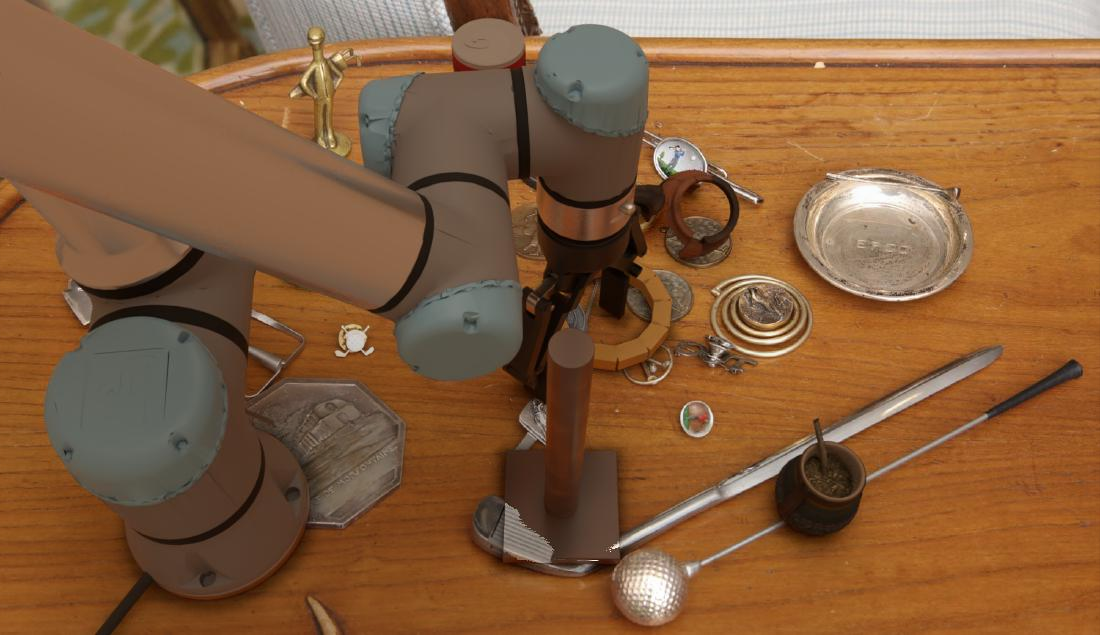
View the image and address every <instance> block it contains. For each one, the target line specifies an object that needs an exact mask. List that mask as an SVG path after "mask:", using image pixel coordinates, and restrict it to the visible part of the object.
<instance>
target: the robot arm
mask: <svg viewBox="0 0 1100 635" xmlns="http://www.w3.org/2000/svg"><path fill="white" fill-rule="evenodd" d="M649 87H650V62H649V60H648V58H647V55H646V53H645V52H644V50H643V48H642V47H641V45H639V43H638V42H637V41H636V40H635V39H633V38H632V37H631V36H630V35H629V34H627V33H626V32H624V31H621V30H619V29H617V28H615V27H612V26H608V25H604V24H597V23H582V24H575V25H572V26H570V27H569V28H568V29H567V30H565V31H563V32H556V33H554V34H552V35H551V36H550V37H549V38H548V39H547V40H546V41H545V42H544V43H543V45H542V46H541V48H540V50H539V53H538V56H537V60H536V63H535V64H534V65H532V64H531V65H526V66H521V67H520V68H513V69H495V70H478V71H461V72H454V71H445V72H429V73H427V72H425V71H416V72H414V73H413V74H405V75H396V76H390V77H385V78H376V79H372V80H370V81H368V82H367V83H365V84H364V85H363V87H362V88H361V90H360V92H359V95H358V101H357V106H358V107H357V117H358V118H357V119H358V126H359V131H358V132H359V142H360V151H361V158H362V162H363V165H361V164H359V163H358V162H356V161H353V160H351V159H349V158H347V157H345V156H343V155H341V154H339V153H337V152H335V151H333V150H331V149H329V148H327V147H324V146H322V145H320V144H319V143H317V142H314V141H312V140H311V139H308V138H306V137H304V136H302V135H300V134H298V133H297V132H294V131H292V130H290V129H288V128H286V127H285V126H284V127H283V126H282V125H280V124H278V123H275V122H274V121H272V120H269V119H268V118H265V117H263V116H262V115H259V114H257V113H255V112H253V111H251V110H249V109H247V108H245V107H244V106H243V107H242V106H240V105H239V104H237V103H235V102H232V101H230V100H228V99H226V98H224V97H223V96H220V95H218V94H216V93H214V92H212V91H210V90H208V89H206V88H204V87H202V86H200V85H198V84H197V83H196V84H195V83H194V82H192V81H189V80H188V79H186V78H183V77H182V76H179V75H177V74H176V73H173V72H171V71H169V70H167V69H165V68H163V67H161V66H159V65H157V64H155V63H153V62H151V61H149V60H146V59H144V58H143V57H141V56H139V55H137V54H134V53H133V52H131V51H128V50H126V49H124V48H122V47H120V46H118V45H116V44H114V43H112V42H110V41H108V40H106V39H103V38H102V37H100V36H97V35H96V34H93V33H91V32H90V31H87V30H85V29H83V28H81V27H79V26H77V25H76V24H73V23H71V22H69V21H67V20H64V19H62V18H61V17H58V16H57V15H56V13H55V12H54V11H53V9H52V7H50V5H49V3H48V2H47V1H46V0H0V178H2V179H5V180H7V181H8V183H10V185H11V186H13V188H15V190H16V191H17V192H18V193H19V194H20V195H21V196H22V197H23V198H24V199H25V200H26V201H27V202H28V203H29V204H30V205H31V206H32V208H34V210H36V212H38V214H39V215H40V216H41V217H42V218H43V219H44V220H45V221H46V222H47V224H48V225H50V226H51V227H52V228H53V229H54V231H55V232H56V233H55V241H54V252H55V256H56V259H57V261H58V265H59V266H60V267H61V269H62V271H63V272H64V273H65V274H66V275H67V276H68V277H69V278H70V279H71V280H72V281H73V282H75V284H76V286H78V287H79V288H80V289H81V290H82V291H83V292H84V293H85V294H86V295H87V296H88V297H89V299H90V302H91V306H92V307H91V314H90V318H89V326H88V331H87V333H86V334H85V335H83V336H82V337H81V338H79V340H78V342H79V344H80V345H79V346H77V348H75V349H74V350H73V351H70V350H68V351H66V352H65V353H63V354H64V355H63V356H61V358H60V359H59V360H58V363H57V364H56V365H55V368H54V369H53V372H51V373H52V374H51V376H50V377H49V381H48V383H47V386H46V390H45V394H44V400H43V421H44V427H45V431H46V435H47V438H48V440H49V443H50V444H51V447H52V448H53V450H54V452H55V453H56V455H57V456H58V457H59V459H60V460H61V461H62V463H63V465H64V467H65V469H66V471H68V473H69V474H70V475H71V476H72V477H73V479H74V480H75V481H76V482H77V483H78V484H79V485H80V486H81V487H82V488H83V489H85V490H86V491H88V492H90V494H92V495H94V496H95V497H96V498H97V499H99V501H101V502H102V503H103V504H104V505H105V506H106V507H107V508H109V509H110V510H111V511H112V512H113V513H115V515H117V516H118V517H119V518H120V519H121V520H123V521H124V527H125V528H124V530H125V536H126V541H127V545H128V548H129V550H130V553H131V554H132V557H133V558H134V560H135V562H136V564H137V565H138V566H139V568H140V569H141V571H142V572H143V574H142V575H141V576H140V577H139V578H138V580H137V581H136V582H135V584H133V586H132V587H131V588H130V590H129V591H128V592H127V593H126V595H125V596H124V597H123V598H122V600H121V601H120V602H119V603H118V605H117V606H116V607H115V608H114V610H113V611H112V612H111V614H110V615H109V616H108V617H107V619H105V621H104V622H103V624H101V626H100V627H99V629H98V630H97V631H96V633H95V634H94V635H112V634H113V632H114V631H115V630H116V629H117V627H118V626H119V625H120V623H122V621H123V619H125V617H126V616H127V614H128V613H129V612H130V610H132V609H133V607H134V606H135V604H136V603H137V602H138V601H139V600H140V598H141V597H142V595H143V594H144V593H145V592H146V591H147V590H148V588H149V587H150V586H151V585H152V583H153V582H154V583H155V584H156V585H157V586H159V587H160V588H162V589H163V590H165V591H167V592H168V593H171V594H173V595H176V596H179V597H181V598H186V599H188V600H189V599H191V600H196V601H197V600H198V601H211V600H219V599H220V600H222V599H226V598H230V597H235V596H237V595H240V594H243V593H244V592H248V591H249V590H252V589H254V588H255V587H258V586H259V585H260V584H262V583H264V582H265V581H266V580H268V579H269V578H270V577H272V576H273V575H274V574H276V572H278V571H279V570H280V569H281V568H282V567H283V566H284V565H285V563H286V562H287V561H288V560H289V559H290V557H291V556H292V555H293V553H294V552H295V551H296V549H297V547H298V546H299V544H300V543H301V540H302V538H303V536H304V533H305V530H306V528H307V525H308V521H309V516H310V511H311V510H310V508H311V493H310V487H309V483H308V479H307V476H306V474H305V472H304V470H303V468H302V466H301V464H300V462H299V461H298V459H297V458H296V456H295V455H294V454H293V452H291V450H290V449H289V448H288V447H287V446H286V445H285V444H283V443H282V441H280V440H279V439H278V438H276V437H275V436H273V435H271V434H270V433H268V432H266V431H263V430H261V429H259V428H256V427H254V426H252V424H251V422H250V420H249V419H248V417H247V416H249V417H252V418H254V419H256V420H258V421H261V422H264V423H265V424H268V425H270V426H273V427H275V428H277V425H276V423H275V421H274V420H272V419H270V418H268V417H266V416H264V415H261V414H259V413H256V412H255V411H253V410H250V409H247V408H246V391H247V377H248V362H249V361H248V360H249V350H250V339H251V338H250V337H251V324H252V313H253V312H252V311H253V310H252V309H253V301H254V300H253V299H254V288H255V277H256V274H257V272H260V273H262V274H265V275H268V276H271V277H273V278H276V279H279V280H281V281H285V282H287V283H289V284H292V285H296V286H298V287H300V288H304V289H306V290H308V291H311V292H314V293H317V294H320V295H323V296H325V297H328V298H331V299H333V300H335V301H339V302H341V303H344V304H347V305H350V306H353V307H355V308H358V309H360V310H363V311H366V312H369V313H370V314H373V315H375V316H378V317H380V318H384V319H387V320H388V321H391V322H393V324H394V326H393V332H392V336H393V337H394V339H395V340H396V348H397V354H398V357H399V358H400V360H401V361H402V362H403V363H404V364H406V365H407V366H408V367H409V369H410V371H412V372H413V373H415V374H417V375H419V376H421V377H423V378H427V379H430V380H434V381H444V382H463V381H471V380H475V379H479V378H482V377H486V376H489V375H491V374H494V373H495V372H497V371H498V370H499V369H500V368H502V371H504V372H505V373H507V375H509V376H511V377H512V378H513V379H515V380H517V382H519V383H520V384H522V387H523V388H524V389H525V390H526V391H528V392H529V393H531V394H532V395H533V396H534V397H536V398H537V399H539V400H541V401H542V402H543V403H547V356H548V343H549V340H550V339H551V337H552V336H553V335H554V334H555V333H556V332H558V331H560V330H561V329H562V326H563V324H564V322H565V320H566V321H567V317H568V316H569V313H570V312H573V311H575V310H577V308H578V306H579V305H580V303H581V300H582V298H583V296H584V294H585V291H586V289H587V288H588V287H590V286H591V285H592V283H593V280H595V279H594V277H595V276H596V275H597V273H598V272H599V271H600V270H602V275H601V277H600V287H599V295H598V304H597V305H598V306H599V307H600V308H602V309H603V310H605V311H606V312H608V313H609V314H611V315H613V316H614V317H616V318H617V319H618V320H621V319H622V318H623V316H625V313H626V306H627V299H628V292H629V285H630V284H629V279H630V275H631V276H633V277H635V278H637V277H638V276H639V275H640V273H641V272H642V269H643V268H642V267H641V266H639V265H638V264H636V263H635V262H634V260H636V259H637V258H638V257H639V258H640V259H642V258H644V257H645V255H647V253H648V248H649V247H648V244H647V241H646V237H645V235H644V232H643V231H644V230H643V228H642V225H641V222H640V217H641V214H640V211H641V207H639V206H637V205H636V204H634V203H633V202H634V194H635V187H636V185H637V178H638V173H639V172H638V171H639V164H640V158H641V152H642V146H643V140H644V134H645V129H646V125H647V122H648V119H649V113H650V110H649V109H648V105H649V89H650V88H649ZM530 178H536V191H535V192H536V194H535V196H536V197H535V198H536V199H535V200H536V201H535V202H536V207H537V208H536V238H537V243H538V246H539V248H540V251H541V252H542V255H543V257H544V259H545V261H546V264H545V268H544V271H543V274H542V281H541V283H540V284H539V285H538V286H537V287H536V288H535V289H533V288H531V287H529V286H528V285H526V286H524V287H522V286H523V285H522V284H521V281H520V280H521V279H520V271H519V263H518V257H517V249H516V241H515V234H514V226H513V219H512V218H513V217H512V209H511V201H510V199H511V198H510V191H509V182H510V181H516V180H526V179H527V180H528V179H530ZM508 181H509V182H508ZM560 292H562V293H567V294H569V295H570V297H568V296H567V297H566V296H564V295H563V294H561V293H560Z"/></svg>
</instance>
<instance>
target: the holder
mask: <svg viewBox="0 0 1100 635" xmlns="http://www.w3.org/2000/svg"><path fill="white" fill-rule="evenodd" d="M594 343H595V342H594V340H593V338H592V337H591V335H590V334H589V333H587V332H586V331H584V330H582V329H579V328H575V327H570V328H566V329H562V330H560V331H558V332H556V333H555V334H554V335H553V336H552V337H551V339H550V340H549V343H548V356H547V401H546V404H545V405H546V407H545V408H546V411H545V449H508V448H507V449H505V472H504V473H505V475H504V476H505V477H504V501H503V502H505V503H507V504H508V505H509V506H511V507H513V508H514V509H517V510H518V512H519V514H520V516H519V518H520V519H522V520H519V521H521V522H524V523H522V524H525V525H527V526H525V527H527V528H531V529H529V530H533V531H536V532H534V533H537V534H539V535H540V536H539V537H544V538H545V539H544V540H546V539H547V540H546V541H548V542H550V543H547V544H549V545H550V546H552V548H553V549H554V550H555V551H553V550H552V551H553V552H555V554H553V556H554V558H556V559H565V560H553V561H552V563H553V564H555V565H556V564H557V565H560V564H561V565H619V564H620V563H621V546H620V547H618V548H615V549H612V548H610V547H611V546H612V547H613V546H614V545H613V544H617V542H618V541H620V542H621V539H620V538H621V537H620V507H619V506H620V505H619V504H620V503H619V482H618V481H619V479H618V452H617V450H597V449H595V450H593V449H592V450H591V449H590V450H587V449H586V450H585V448H586V438H587V428H588V422H589V421H588V420H589V418H588V417H589V410H590V401H591V393H592V392H591V391H592V383H593V374H594V368H593V365H594V355H595V345H594ZM608 547H609V548H608ZM609 549H611V550H609ZM606 550H607V551H606ZM610 551H611V552H610ZM577 560H599V561H577ZM502 563H503V564H537V563H536V562H532V561H529V560H528V561H527V560H517V558H516V557H513V556H511V555H508V554H507V553H504V552H503V551H502ZM553 564H552V565H553Z"/></svg>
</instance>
